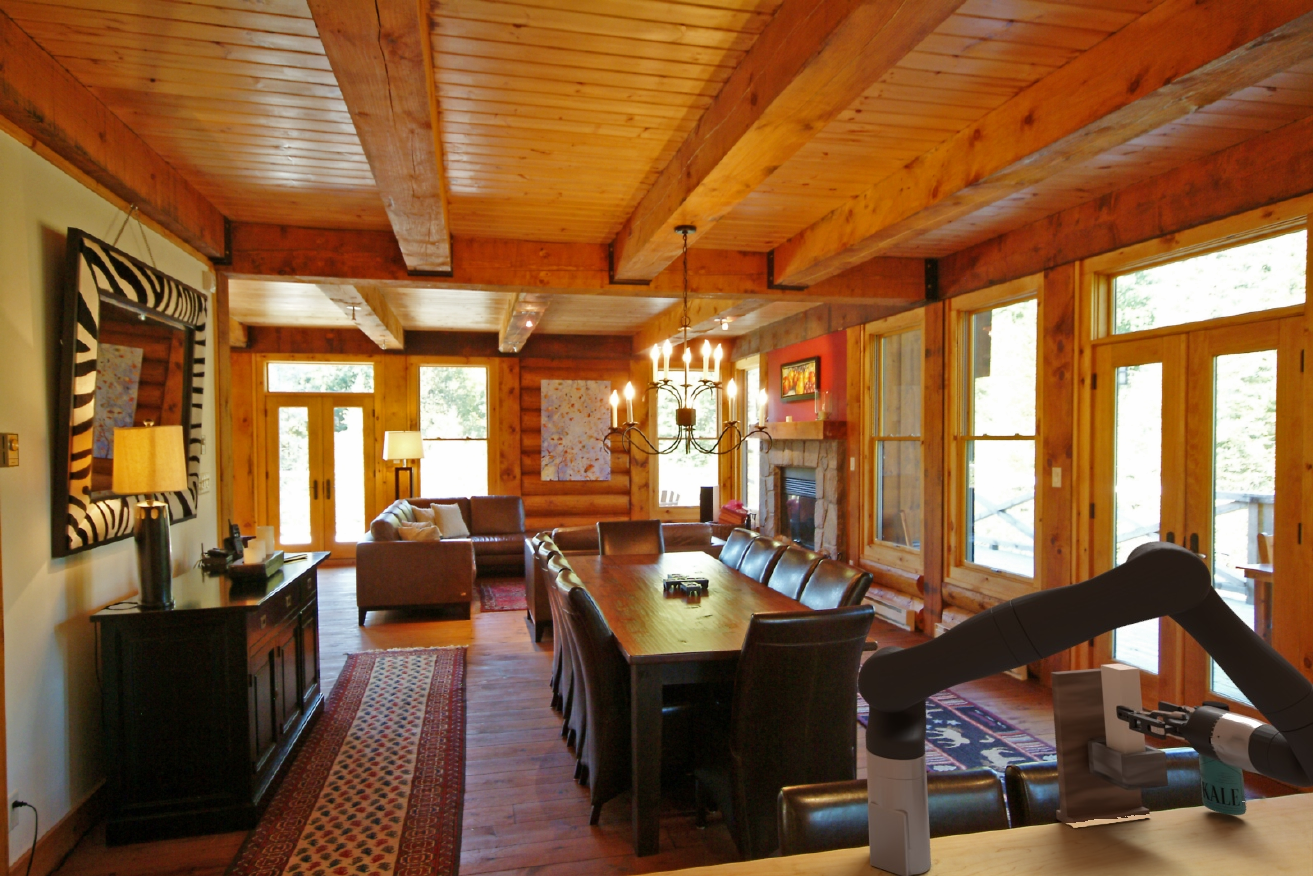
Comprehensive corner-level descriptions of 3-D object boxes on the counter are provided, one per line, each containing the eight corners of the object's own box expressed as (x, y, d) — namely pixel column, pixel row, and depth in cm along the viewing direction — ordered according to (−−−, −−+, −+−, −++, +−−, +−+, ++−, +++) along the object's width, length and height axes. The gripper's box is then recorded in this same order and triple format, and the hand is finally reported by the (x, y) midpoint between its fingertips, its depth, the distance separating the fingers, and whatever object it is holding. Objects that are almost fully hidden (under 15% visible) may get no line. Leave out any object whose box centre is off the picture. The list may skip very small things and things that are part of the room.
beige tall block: (1147, 776, 121) (1139, 668, 123) (1128, 779, 120) (1119, 670, 122) (1127, 768, 125) (1119, 663, 126) (1108, 770, 124) (1100, 665, 126)
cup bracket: (1192, 839, 119) (1179, 680, 122) (1112, 850, 116) (1100, 687, 118) (1130, 809, 131) (1119, 665, 133) (1056, 819, 128) (1046, 671, 130)
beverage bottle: (1231, 809, 130) (1221, 697, 132) (1258, 825, 124) (1247, 707, 126) (1193, 808, 131) (1184, 697, 133) (1218, 824, 124) (1208, 707, 126)
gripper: (1270, 709, 107) (1171, 683, 122) (1193, 717, 103) (1102, 690, 119) (1275, 761, 106) (1175, 728, 122) (1198, 771, 103) (1105, 736, 119)
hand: (1139, 709), depth 120 cm, fingers open, 8 cm apart
